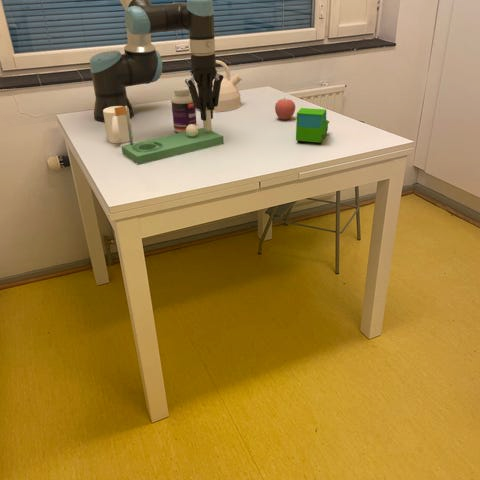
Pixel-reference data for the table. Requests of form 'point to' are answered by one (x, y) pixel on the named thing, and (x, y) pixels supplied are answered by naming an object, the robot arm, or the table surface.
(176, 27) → the robot arm
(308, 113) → the toy car
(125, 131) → the mug
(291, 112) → the apple
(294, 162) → the table surface
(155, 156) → the putting mat
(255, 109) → the table surface
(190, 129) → the ball
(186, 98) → the pill bottle
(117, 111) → the flag pin
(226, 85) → the kettle
